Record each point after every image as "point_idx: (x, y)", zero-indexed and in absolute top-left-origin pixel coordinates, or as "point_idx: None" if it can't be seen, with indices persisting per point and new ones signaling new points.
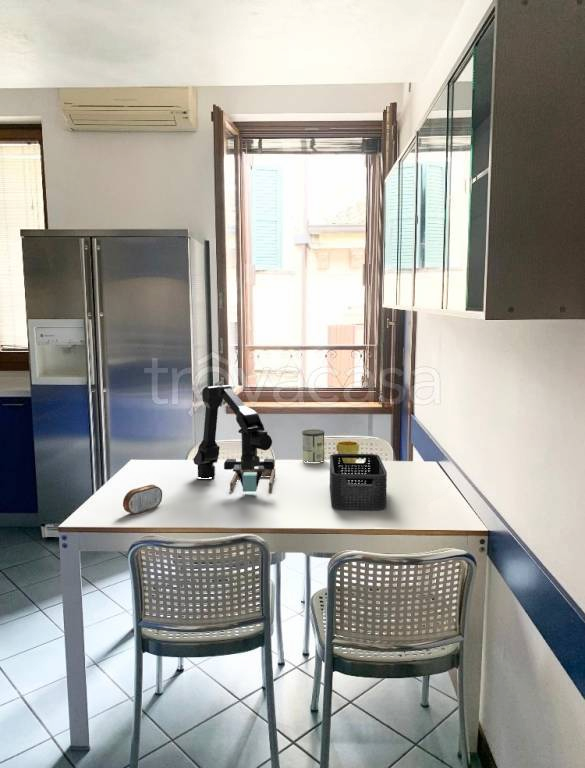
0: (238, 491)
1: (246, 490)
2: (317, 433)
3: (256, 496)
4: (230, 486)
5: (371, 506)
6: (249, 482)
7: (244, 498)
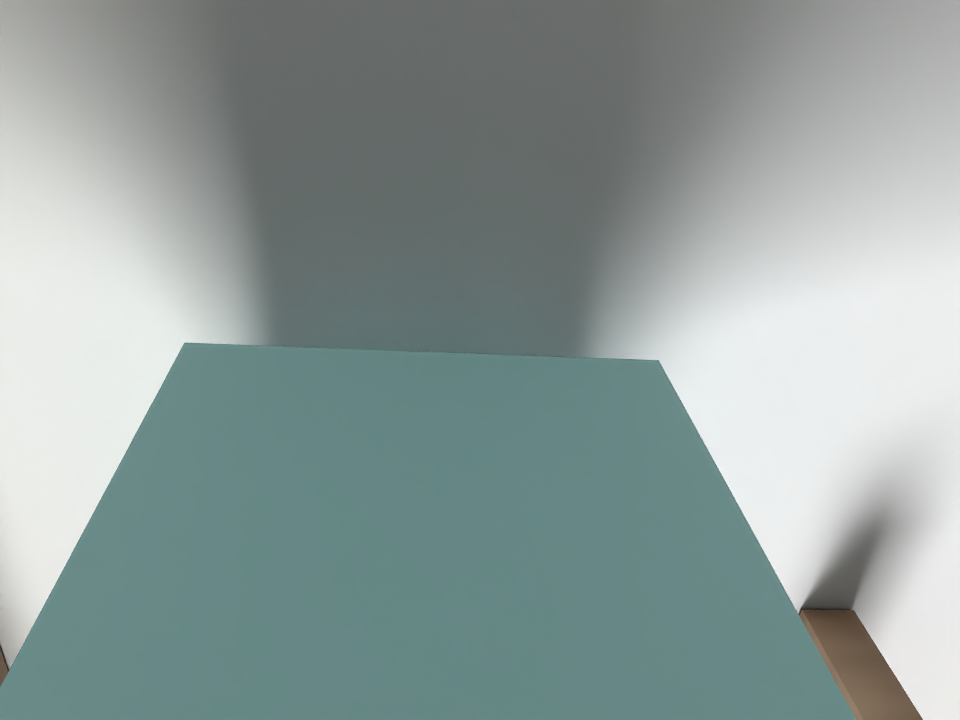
0: None
1: (537, 376)
2: None
3: (233, 317)
4: (911, 712)
5: None
6: (427, 617)
7: (573, 156)
